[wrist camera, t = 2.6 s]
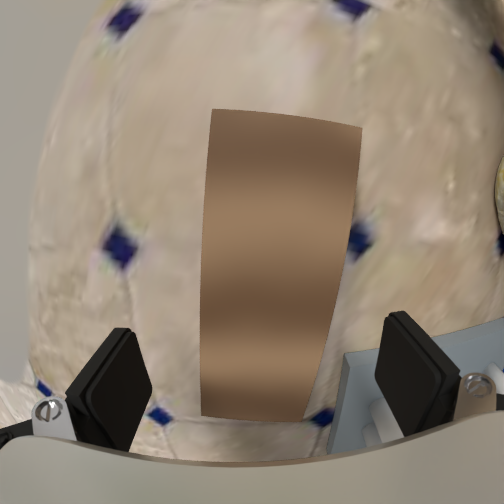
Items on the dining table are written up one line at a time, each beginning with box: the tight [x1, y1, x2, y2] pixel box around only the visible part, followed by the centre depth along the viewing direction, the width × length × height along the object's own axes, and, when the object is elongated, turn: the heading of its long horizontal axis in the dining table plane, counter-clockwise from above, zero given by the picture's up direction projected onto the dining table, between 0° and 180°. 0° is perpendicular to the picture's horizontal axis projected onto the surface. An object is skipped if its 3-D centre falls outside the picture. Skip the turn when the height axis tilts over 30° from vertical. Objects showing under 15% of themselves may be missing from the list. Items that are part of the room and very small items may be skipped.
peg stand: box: [326, 317, 504, 455], centre depth 16 cm, size 12×18×6 cm, turn 94°
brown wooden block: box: [200, 109, 362, 422], centre depth 14 cm, size 16×6×4 cm, turn 175°
